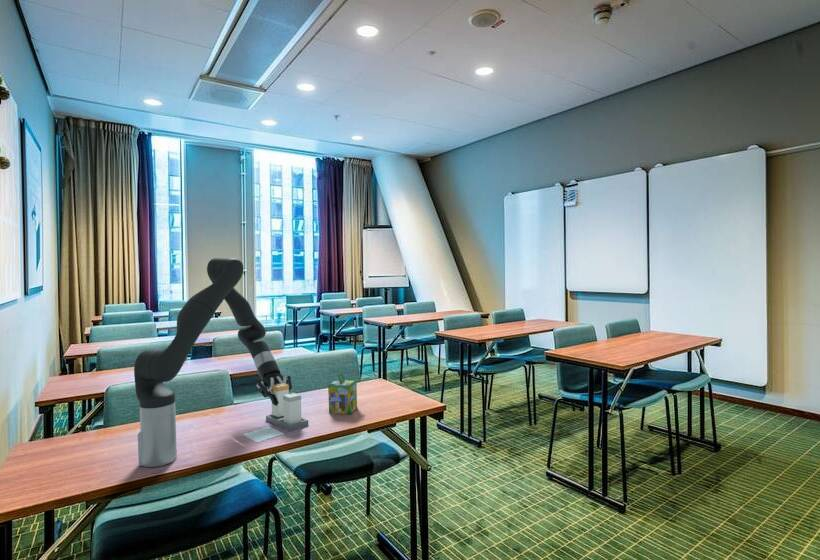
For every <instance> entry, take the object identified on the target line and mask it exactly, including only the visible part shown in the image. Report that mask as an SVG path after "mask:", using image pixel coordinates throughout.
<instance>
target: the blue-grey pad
mask: <svg viewBox="0 0 820 560" xmlns="http://www.w3.org/2000/svg"><path fill="white" fill-rule="evenodd" d="M284 434H285V433H283V432H282V431H280V430H278V429H276V428H273V427H271V426H267V427H263V428H260V429H256V430H253V431H250V432H246V433H243V434H242V436H244V437H245V438H247V439H249V440H251V441H252V442H255V443H256V444H257V443H260V442H264V441H266V440H269V439H272V438H275V437H279V436H283V435H284Z"/></svg>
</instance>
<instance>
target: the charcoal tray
mask: <svg viewBox="0 0 820 560" xmlns="http://www.w3.org/2000/svg"><path fill="white" fill-rule="evenodd" d="M265 422H268V423H271V424H273V425H275V426H277V427H279V428H281V429H283V430H285V431H287V432H291V431H294V430H296V429H300V428H303V427H304V428H305V427H307V426H309V419H307V418H304V417H302V416H301V422H298V423H295V424H291V425H288V424H286V423H284V416H281V417H277V416H274V415H272V413H271V414H266V415H265Z"/></svg>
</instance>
